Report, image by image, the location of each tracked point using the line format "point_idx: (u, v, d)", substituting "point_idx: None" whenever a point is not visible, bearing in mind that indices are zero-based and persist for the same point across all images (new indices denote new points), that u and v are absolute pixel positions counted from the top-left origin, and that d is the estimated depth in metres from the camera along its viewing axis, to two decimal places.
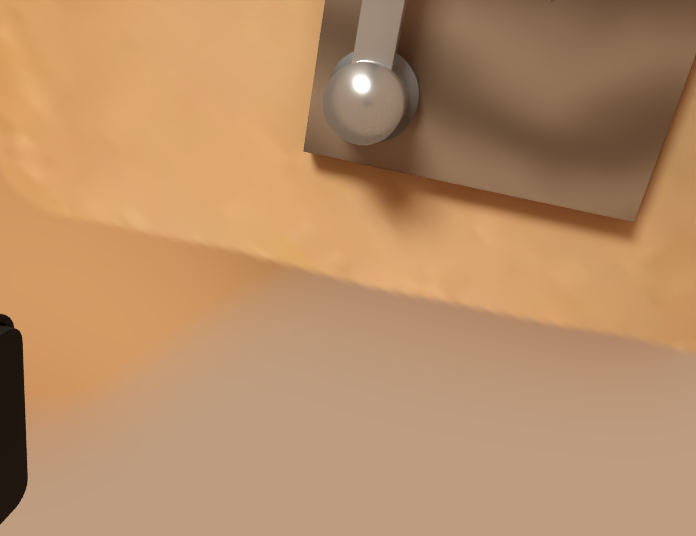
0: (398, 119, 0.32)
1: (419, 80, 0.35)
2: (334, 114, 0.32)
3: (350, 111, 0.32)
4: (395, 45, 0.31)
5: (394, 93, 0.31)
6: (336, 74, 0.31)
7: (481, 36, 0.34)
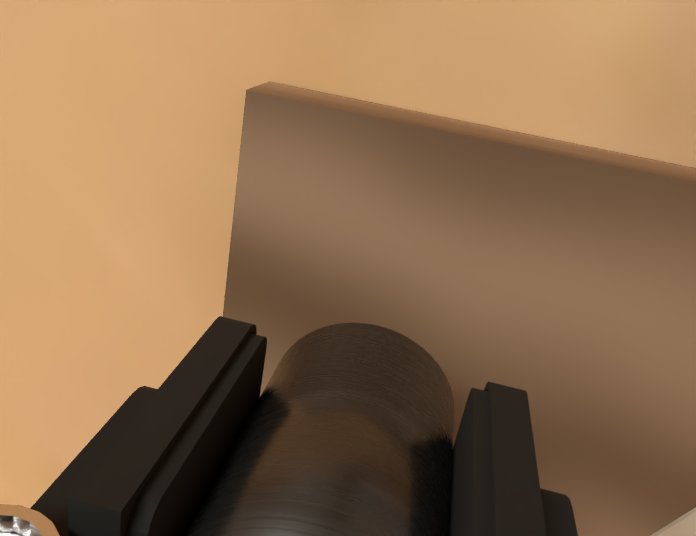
0: None
1: None
2: None
3: None
4: None
5: None
6: None
7: None
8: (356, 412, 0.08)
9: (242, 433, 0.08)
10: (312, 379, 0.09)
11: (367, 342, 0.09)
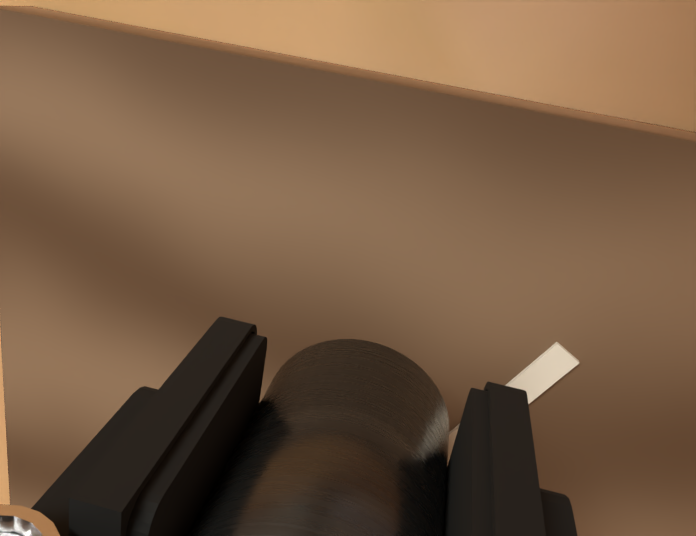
0: None
1: None
2: None
3: None
4: None
5: None
6: None
7: None
8: (386, 448, 0.08)
9: (262, 434, 0.08)
10: (342, 398, 0.08)
11: (393, 370, 0.09)
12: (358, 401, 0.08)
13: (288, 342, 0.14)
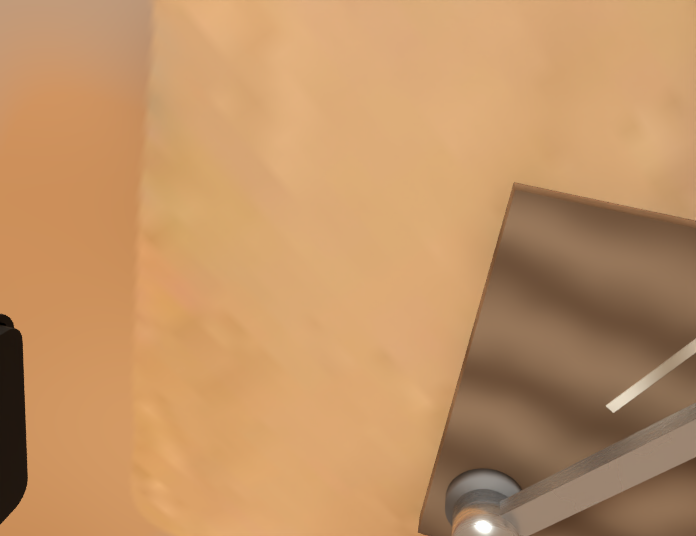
0: None
1: None
2: None
3: None
4: (538, 529, 0.37)
5: None
6: (487, 527, 0.36)
7: None
8: None
9: None
10: None
11: None
12: None
13: (613, 316, 0.35)
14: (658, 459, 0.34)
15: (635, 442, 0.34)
